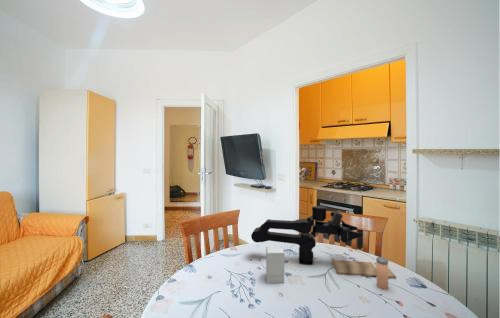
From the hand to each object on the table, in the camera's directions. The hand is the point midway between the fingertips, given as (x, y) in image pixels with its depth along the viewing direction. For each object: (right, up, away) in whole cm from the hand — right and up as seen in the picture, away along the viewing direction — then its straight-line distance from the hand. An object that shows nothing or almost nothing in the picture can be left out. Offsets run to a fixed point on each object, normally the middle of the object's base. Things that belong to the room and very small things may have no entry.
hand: (359, 231), depth 105 cm
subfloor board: (-1, -17, -3) cm, 17 cm away
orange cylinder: (+1, -17, -16) cm, 24 cm away
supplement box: (-42, -17, -10) cm, 46 cm away
